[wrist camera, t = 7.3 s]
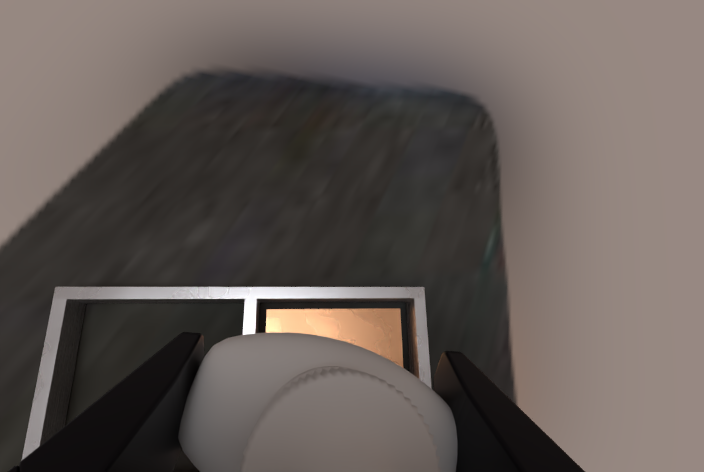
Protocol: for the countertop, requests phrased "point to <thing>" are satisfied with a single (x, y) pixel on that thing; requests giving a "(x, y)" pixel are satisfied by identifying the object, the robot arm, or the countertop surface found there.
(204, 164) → the countertop surface
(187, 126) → the countertop surface
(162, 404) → the robot arm
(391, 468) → the eye dropper bottle
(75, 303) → the tray
